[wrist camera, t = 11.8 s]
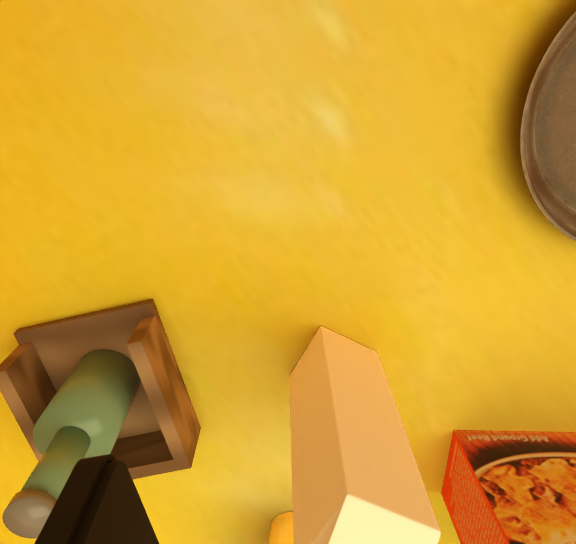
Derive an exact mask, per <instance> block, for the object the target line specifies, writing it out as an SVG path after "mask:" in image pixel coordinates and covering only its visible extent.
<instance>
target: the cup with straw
mask: <svg viewBox="0 0 576 544" xmlns="http://www.w3.org/2000/svg"><path fill="white" fill-rule="evenodd" d="M268 544H294V538H293V512H286V513H282V514H280V515H278V516H277V517H276V518H275V519H274V520H273V521H272V523H271V532H270V535H269V541H268Z"/></svg>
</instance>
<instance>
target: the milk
mask: <svg viewBox="0 0 576 544" xmlns="http://www.w3.org/2000/svg"><path fill="white" fill-rule="evenodd" d="M290 416H291V457H292V497H293V538H294V544H438V541H439V538H440V535H441V531H440V528H439V525H438V522H437V519H436V517H435V514H434V511H433V508H432V505H431V502H430V500H429V497H428V494H427V491H426V488H425V485H424V483H423V480H422V477H421V474H420V471H419V468H418V466H417V463H416V460H415V457H414V454H413V452H412V449H411V446H410V443H409V440H408V437H407V435H406V432H405V429H404V426H403V423H402V420H401V418H400V415H399V412H398V409H397V406H396V403H395V401H394V398H393V395H392V392H391V389H390V386H389V384H388V381H387V378H386V375H385V372H384V369H383V367H382V364H381V361H380V358H379V355H378V353H377V352H376V351H374V350H372V349H369V348H367V347H365V346H363V345H361V344H359V343H357V342H355V341H353V340H350V339H348V338H346V337H344V336H342V335H340V334H338V333H336V332H333V331H331V330H329V329H327V328H325V327H323V326H320V327H319V329H318V331H317V332H316V334H315V335H314V337H313V339H312V340H311V342H310V344H309V345H308V347H307V348H306V350H305V352H304V353H303V355H302V356H301V358H300V360H299V361H298V363H297V365H296V366H295V368H294V369H293V371H292V373H291V374H290Z"/></svg>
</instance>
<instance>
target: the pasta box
mask: <svg viewBox="0 0 576 544" xmlns="http://www.w3.org/2000/svg"><path fill="white" fill-rule="evenodd" d="M441 494H442V496H443V499H444V501H445V504H446V506H447V509H448V512H449V514H450V517H451V519H452V522H453V525H454V527H455V530H456V532H457V535H458V537H459V540H460V543H461V544H576V432H530V431H476V430H454V431H453V436H452V441H451V446H450V451H449V457H448V462H447V467H446V472H445V477H444V482H443V488H442V493H441Z"/></svg>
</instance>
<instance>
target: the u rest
mask: <svg viewBox="0 0 576 544" xmlns="http://www.w3.org/2000/svg"><path fill="white" fill-rule="evenodd" d="M14 335H15V337H16V339H17V341H18V343H19V346H18V347H17V348H16V349H15V350H14V351H13V352H12V353H11V354H10V355H9V356H8V357H7V358H6V359H5V360H4V361H3V362H2V363H1V364H0V391H1V393H2V395H3V396H4V398H5V400H6V402H7V404H8V406H9V407H10V409H11V411H12V413H13V415H14V417H15V419H16V420H17V422H18V424H19V426H20V428H21V430H22V432H23V433H24V435H25V437H26V439H27V441H28V443H29V444H30V446H31V448H32V450H33V452H34V454H35V456H36V457H37V459H38V461H39V460H40V459H41V457H42V454H41V453H40V452H39V451H38V449H37V448H36V446H35V443H34V440H33V429H34V426H35V424H36V422H37V421H38V419H39V418H40V416H41V415H42V413H43V412H44V410H45V409H46V408H47V406H48V405H49V403H50V402H51V400H52V399H53V397H54V396H55V395H56V393H57V392H58V390H59V389H60V387H61V386H62V384H63V383H64V381H65V380H66V379H67V377H68V376H69V374H70V373H71V371H72V370H73V368H74V367H75V366H76V364H77V363H78V361H79V360H80V359H81V358H82V357H83V356H84V355H85V354H87V353H89V352H91V351H95V350H102V349H105V350H113V351H116V352H119V353H121V354H123V355H125V356H127V357H128V358H129V359H130V360H132V362H133V363H134V364H135V367H136V369H137V372H138V374H139V377H140V379H141V381H140V387H139V389H138V392H137V394H136V396H135V398H134V401H133V403H132V405H131V408H130V410H129V412H128V414H127V417H126V419H125V421H124V423H123V426H122V428H121V430H120V433H119V435H118V437H117V439H116V442H115V444H114V446H113V449H112V451H111V453H110V454H112V455H113V456H115V458H116V460H117V461H123V462H125V464H126V466H127V468H128V471H129V473H130V475H131V478H132V479H136V478H142V477H147V476H152V475H157V474H162V473H167V472H172V471H177V470H183V469H188V468H191V466H192V462H193V458H194V454H195V449H196V445H197V441H198V437H199V433H200V428H201V427H200V425H199V422H198V419H197V416H196V414H195V411H194V408H193V406H192V403H191V400H190V398H189V395H188V392H187V390H186V387H185V384H184V381H183V379H182V376H181V373H180V371H179V368H178V365H177V363H176V360H175V357H174V354H173V352H172V349H171V346H170V344H169V341H168V338H167V336H166V333H165V330H164V328H163V325H162V322H161V319H160V317H159V314H158V311H157V309H156V306H155V303H154V301H153V299H151V300H146V301H142V302H137V303H133V304H128V305H124V306H119V307H115V308H110V309H106V310H101V311H97V312H92V313H88V314H83V315H79V316H74V317H70V318H65V319H61V320H57V321H52V322H48V323H43V324H39V325H34V326H30V327H25V328H21V329H18V330H17V331H16V332H15V333H14Z"/></svg>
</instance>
